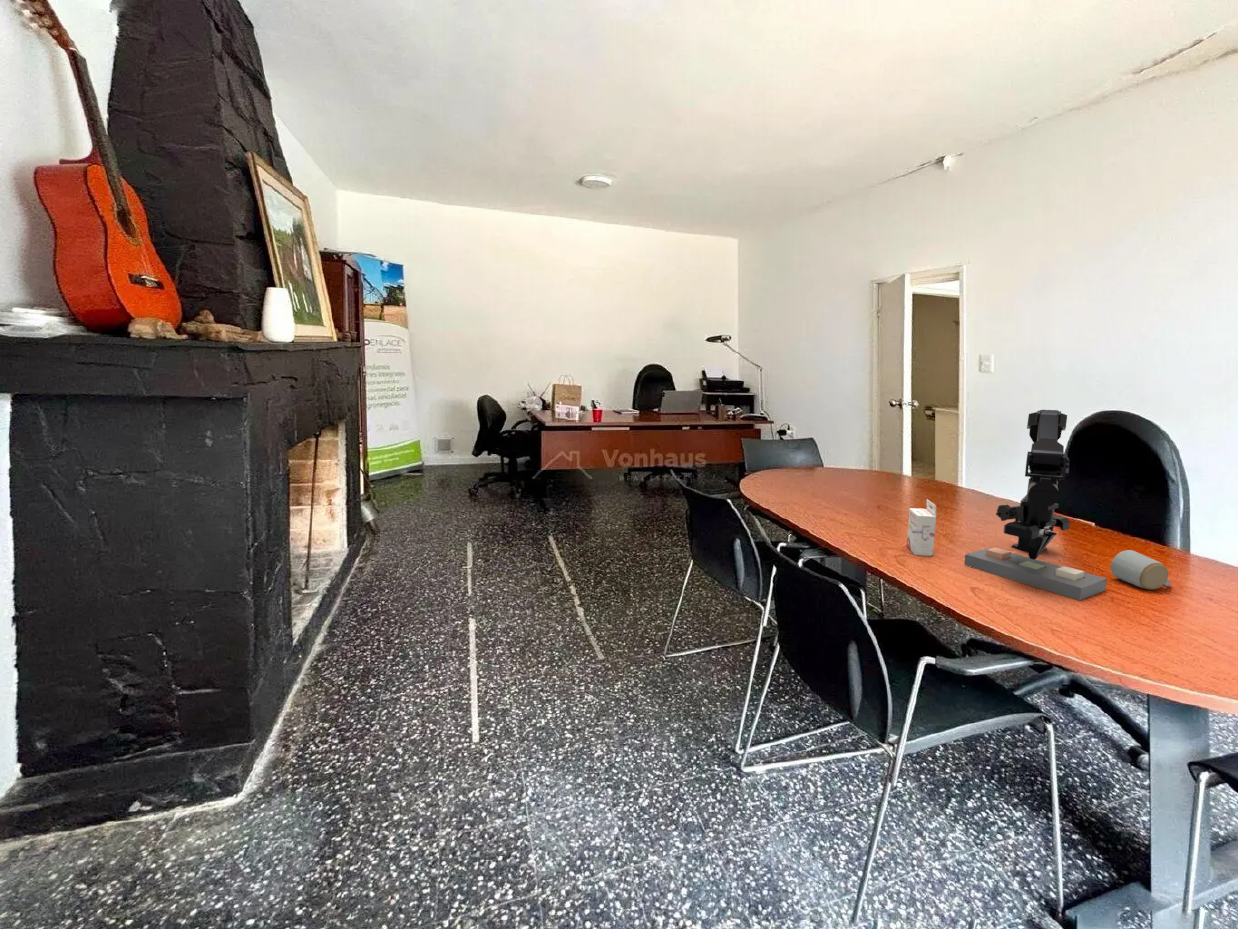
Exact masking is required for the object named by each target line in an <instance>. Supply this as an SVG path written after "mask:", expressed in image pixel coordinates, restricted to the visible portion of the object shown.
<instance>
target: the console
mask: <svg viewBox="0 0 1238 929" xmlns="http://www.w3.org/2000/svg"><path fill="white" fill-rule="evenodd" d="M991 548H993V547H988V548H984V549H980V550H977V551H971V552H969V553H965V555H964V565H963V566H967V567H969V566H971V567H970V568H973V567H974V568H973V569H976V570H980V571H984V572H985V573H990V574H993V575H996V576H998V577H1003V578H1005V579H1008V580H1013V581H1015V582H1019V583H1022V584H1025V585H1028V586H1030V587H1031V586H1032V587H1034V588H1037V589H1041V590H1044V591H1047V592H1051V593H1055V594H1058V595H1060V596H1064V597H1067V598H1070V599H1074V600H1077V601H1082V600H1085V599H1087V598H1090V597H1092V596H1096V595H1098V594H1100V593H1102V592H1105V591H1106V586H1107V581H1108V579H1107V577H1102V576H1099V575H1095V574H1092V573H1089V572H1084V577H1083V579H1080V580H1078V581H1074V580H1070V579H1067V578H1063V577H1059V576H1056V575H1055V573H1056V569H1058V568H1061V567H1063V566H1062V565H1058V564H1054V563H1051V562H1046V561H1044V560H1043V561H1042V560H1040V559H1037V558H1036V559H1034V560H1033V559H1030V557H1028V556H1025V555H1021V554H1017V553H1013V552H1011V558H1009V559H1005V560H1000V559H996V558H993V557H989V556H986V550H988V549H991ZM1026 561H1029V562H1033V563H1037V564H1040V565H1044V566H1045V568H1042V569H1039V570H1035V569H1031V568H1028V567H1024V566H1021V565H1019V563H1023V562H1026Z"/></svg>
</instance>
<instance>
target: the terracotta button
mask: <svg viewBox="0 0 1238 929" xmlns="http://www.w3.org/2000/svg"><path fill="white" fill-rule="evenodd" d="M990 548H991V547H990ZM1011 553H1012V551H1010V550H1007V549H1002V548H998V547H992V548H991V549H988V550H986V556H989V557H993V558H996V559H1000V560H1005V559H1009V558H1011Z"/></svg>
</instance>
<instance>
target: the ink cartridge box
mask: <svg viewBox="0 0 1238 929" xmlns="http://www.w3.org/2000/svg"><path fill="white" fill-rule="evenodd" d="M908 509H909V512H908V525H907V534H906V547H907V548H908V549H909V550H910V551H911V553H913V555H914V556H924V557H925V556H929V557H932V556H934V549H935V548H934V547H935V546H934V545H935V534H936V526H937V505H936V504H935V503H933V502H932V501H930V500H929V499H928V498H926V508H914V507H913V508H912V507H911V508H908Z"/></svg>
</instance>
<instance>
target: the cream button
mask: <svg viewBox="0 0 1238 929" xmlns="http://www.w3.org/2000/svg"><path fill="white" fill-rule="evenodd" d="M1084 573H1085V571H1083V570H1081V569H1077V568H1073V567H1070V566H1066V565H1064V566H1062V567H1061V568H1058V569H1056V573H1055V575H1056V576H1059V577H1063V578H1067V579H1070V580H1074V581H1078V580H1080V579H1083V577H1084Z"/></svg>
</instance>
